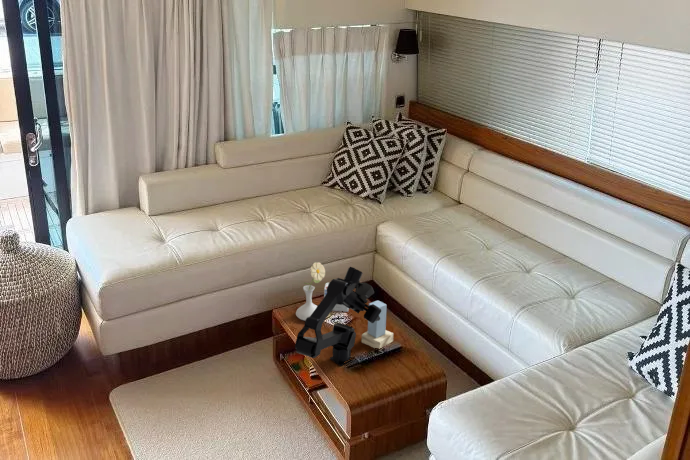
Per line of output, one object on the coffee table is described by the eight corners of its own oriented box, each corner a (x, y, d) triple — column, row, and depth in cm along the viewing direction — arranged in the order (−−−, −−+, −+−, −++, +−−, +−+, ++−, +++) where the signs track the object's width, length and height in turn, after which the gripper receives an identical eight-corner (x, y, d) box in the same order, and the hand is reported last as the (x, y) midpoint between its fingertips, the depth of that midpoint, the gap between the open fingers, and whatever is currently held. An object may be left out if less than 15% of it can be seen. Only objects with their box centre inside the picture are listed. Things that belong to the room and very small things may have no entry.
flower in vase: (302, 325, 282) (301, 272, 272) (291, 313, 291) (290, 261, 282) (330, 318, 288) (330, 265, 278) (319, 306, 297) (318, 255, 287)
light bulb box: (349, 304, 299) (350, 282, 295) (348, 312, 293) (348, 290, 288) (325, 303, 300) (325, 281, 295) (323, 311, 294) (323, 289, 289)
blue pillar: (376, 338, 267) (377, 308, 262) (367, 333, 270) (368, 303, 266) (385, 334, 270) (386, 304, 265) (376, 329, 273) (378, 300, 269)
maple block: (379, 351, 266) (379, 342, 264) (361, 343, 271) (361, 334, 269) (393, 341, 272) (393, 333, 271) (375, 334, 277) (375, 325, 276)
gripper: (378, 289, 248) (399, 306, 258) (346, 271, 261) (367, 288, 272) (361, 315, 246) (383, 331, 257) (330, 295, 260) (352, 311, 270)
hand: (371, 314), depth 264 cm, fingers open, 9 cm apart
